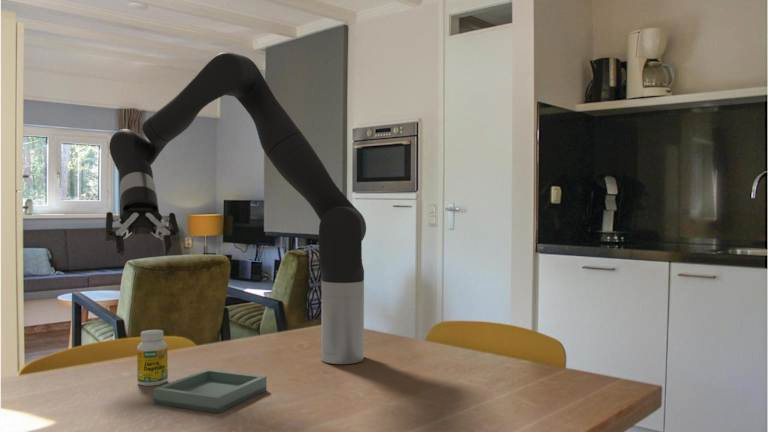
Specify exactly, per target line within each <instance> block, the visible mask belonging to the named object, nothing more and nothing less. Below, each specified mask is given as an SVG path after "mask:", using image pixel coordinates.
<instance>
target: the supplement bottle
mask: <svg viewBox="0 0 768 432" xmlns="http://www.w3.org/2000/svg"><path fill="white" fill-rule="evenodd" d="M140 339H141V341H142V342H140V343H139V344H138V345H137V347H136V348H137V349H136V360H137V361H136V363H137V364H136V365H137V366H136V368H137V369H136V370H137V372H136V373H137V374H136V375H137V376H136V378H137V379H136V380H137V384H138V385H140V386H142V385H143V386H145V387H150V386H152V387H153V386H154V385H155V386H158V385H160V386H161V385H162V384H163V385H164V384H165V383H166V382H167V381H168V375H169V374H168V373H169V371H168V370H169V369H168V365H169V364H168V359H169V358H168V343H167V342H166V341H165V340H164V330H162V329H148V330H142V331H141V332H140Z"/></svg>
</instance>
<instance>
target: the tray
mask: <svg viewBox="0 0 768 432" xmlns="http://www.w3.org/2000/svg"><path fill="white" fill-rule="evenodd" d="M267 377H268V376H266V375H259V374H258V375H257V374H251V373H250V374H249V373H240V372H235V371H234V372H233V371H226V370H218V369H209V368H207V369H204V370H201V371H199V372H196V373H194V374H190V375H187V376H185V377H182V378H180V379H179V378H178V379H175V380H174V381H171V382H168V383H166V384H165V383H164V384H163V385H160V386H158V387H155V388H153V405H160V406H166V407H167V406H168V407H174V408H180V409H187V410H192V411H197V412H198V411H199V412H206V413H210V414H211V413H213V414H220V413H223V412H224V411H226V410H228V409H230V408H232V407H235V406H237V405H238V404H241V403H243V402H245V401H247V400H249V399H251V398H253V397H256V396H257V395H259V394H262V393H264V392H266V391H267Z"/></svg>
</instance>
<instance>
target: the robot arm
mask: <svg viewBox="0 0 768 432" xmlns="http://www.w3.org/2000/svg"><path fill="white" fill-rule="evenodd" d="M265 79H266V78H264V75H263V74H262V72H261V70H260V69H259V67H258V66H257V64H256V63H255V62H254V60H253V61H252V59H251V58H249V57H247V56H245V55H242V54H237V53H234V52H229V51H228V52H225V51H224V52H220V53H218V54H216V55H215V56H213V57H212V58H211V59H210V60H209V61H208V62H207V63H206V65H204V67H203V68H202V69H201V70H200V71H199V72H198V73H197V74H196V75H195V76H194V78H193V79H192V80H191V81H190V82H189V83H188V84H187V85H185V87H184V88H183V89H182V90H180V92H179V93H178V94H177V95H176V96H175V97H173V98H172V99H171V100H170V101H168V102H167V103H166V104H165V105H164V106H162V107H161V108H160V109H158V110H157V111H155V112H154V113H153V114H152V115H150V116H149V117H148V118H147V119H146V120H144V122H143V123H142V126H141V129H142V132H143V134H144V136H145V137H146V138H145V137H143V136H141V135H140V134H138V133H137V132H136V131H133V130H131V129H127V128H122V129H119V130H117V131H115V132H114V133H113V134H112V136H111V138H110V141H109V153H110V154H109V155H110V156H111V159H112V161H113V162H114V165H115V167H116V169H117V172H118V173H119V184H120V186H119V200H120V211H121V214H120V215H115V214H114V213H113V212H111V211H109V212H107V213H106V214H105V215H106V216H105V237H104V239H105V241H106V242H107V241H108V242H110V241H113V242H114V244H115V252H116V254H119V256H120V257H124V255H125V243H124V241H125V239H127V238H128V237H129V236H131V234H134V235H141V234H142V235H150V234H151V235H153V236H154V237H155V238H157V239H158V238H159V239H160V241H162V248H163V250H162V251H163V256H168V255H169V253H171V251H172V248H173V247H172V241H177V240H178V239H179V238H178V236H179V232H180V229H179V226H178V221H177V218H176V215H175V213H173V212H170V213H168V215H162V214H161V213H160V210H159V203H158V195H157V189H156V185H155V183H154V175H153V170H152V165H153V163H154V162H155V161H156V159H157V158H158V156H159V155H160V153H161V152H162V151H163V150H164V149H165V147H166V146H167V145H168V144H169V143H170V142H171V141H173V140H174V139H175V138H176V137H178V136H179V135H180V134H182V133H183V132H185V131H186V130H187V129H189V127H190V126H191V125H192V123H193V122H194V121H195V119H196V118H197V116H198V114H199V113H200V112H201V111H202V110H203V109H204V108H205V107H206V106H208V104H210V103H212V102H214V101H216V100H218V99H219V98H221V97H224V96H231V97H234V98H235V99H236V100H237V101H238V102H239V103H240V104H241V105H242V107H243V108H244V109H245V110H246V112H247V113H248V114H249V116H250V117H251V119H252V120H253V123H254V126H255V128H256V131H257V135H258V139H259V142H260V145H261V148H262V150H263V152H264V154H265V155H266V157H267V158H268V159H269V161H270V163H271V164H272V165H273V166H274V167H275V169H276V170H277V171H278V173H279V174H280V175H281V177H282V178H283V179H284V180H285V182H287V183H288V184H289V185H290V186H292V188H293V189H294V190H295V191H296V192H298V194H299V195H301V196H302V197H303V198H304V199H305V200H306V201H307V203H309V205H310V206H311V207H312V209H313V211H314V212H315V214H316V215H317V217H318V219H319V225H318V226H319V227H318V264H319V269H320V274H321V331H320V332H321V334H320V335H321V339H320V340H321V343H320V346H321V347H320V349H321V350H320V351H321V352H320V353H321V354H320V357H321V358H320V359H321V361H322V362H323V363H326V364H327V363H328V364H333V365H351V364H356V363H361V362H363V361H364V359H365V358H364V356H365V353H364V351H365V350H364V349H365V344H364V343H365V268H364V266H363V265H364V264H363V257H362V256H363V255H362V253H363V251H362V249H363V248H362V247H363V245H362V241H363V240H364V238H365V236H366V232H367V224H366V221H365V220H366V219H365V217H364V216H363V214H362V213H361V212H360V211H359V210H358V209H357V207H355V205H353V204H352V202H351V201H350V200H349V199H348V198H347V197H346V195H344V192H342V191H341V189H340V188H339V187H338V186H337V184H336V183H335V182H334V180H333V178H332V177H331V175H330V173H329V171H328V170H327V169H326V166H325V165H324V164H323V162H322V160H321V159H320V157H319V156H318V154H317V152H316V151H315V149H314V148H313V147H312V145H311V144H310V143H309V141H308V140H307V138H306V137H305V135H304V134H303V132H302V131H301V130H300V129H299V127H298V126H297V125H296V123H295V122H294V121H293V119H292V118H291V117H290V115H289V114H288V113H287V111H286V110H285V109H284V108H283V106H282V105H281V104H280V102H279V101H278V99H277V98H276V96H275V95H274V93H273V92H272V90H271V88H270V87H269V84H268V83H267V81H266V80H265ZM117 223H120V224H121V227H120V228H119V229H118V230H116V231H113V227H115V226H116V225H117ZM164 224H165V225H164ZM165 226H166V227H168V228H169V230H168V229H167V228H166V227H165Z"/></svg>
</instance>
